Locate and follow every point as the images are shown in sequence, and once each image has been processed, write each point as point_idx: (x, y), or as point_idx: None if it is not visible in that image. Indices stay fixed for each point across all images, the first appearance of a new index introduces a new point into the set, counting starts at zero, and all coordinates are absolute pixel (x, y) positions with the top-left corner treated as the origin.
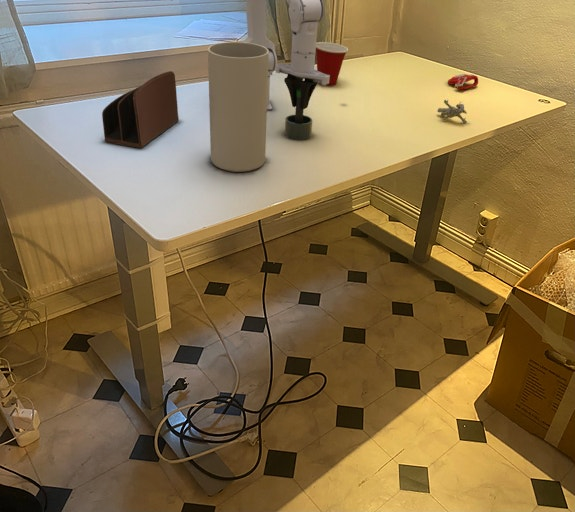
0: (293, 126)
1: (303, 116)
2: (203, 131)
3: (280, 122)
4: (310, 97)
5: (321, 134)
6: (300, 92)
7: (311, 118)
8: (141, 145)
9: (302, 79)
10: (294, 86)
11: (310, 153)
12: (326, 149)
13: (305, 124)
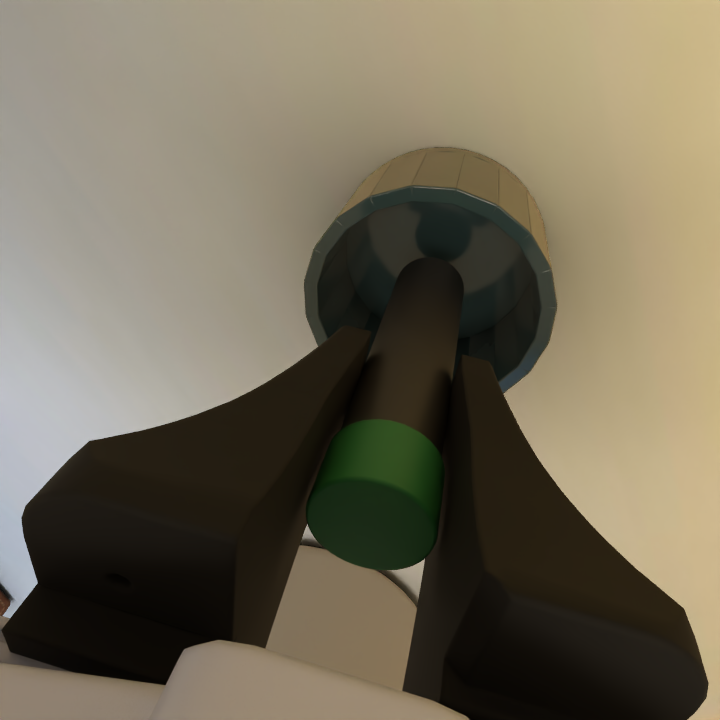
0: None
1: (428, 198)
2: (3, 424)
3: (199, 66)
4: (520, 430)
5: (628, 141)
6: (393, 561)
7: (531, 236)
8: (4, 611)
9: (267, 496)
10: (277, 596)
11: (609, 475)
12: (713, 395)
13: (515, 380)
